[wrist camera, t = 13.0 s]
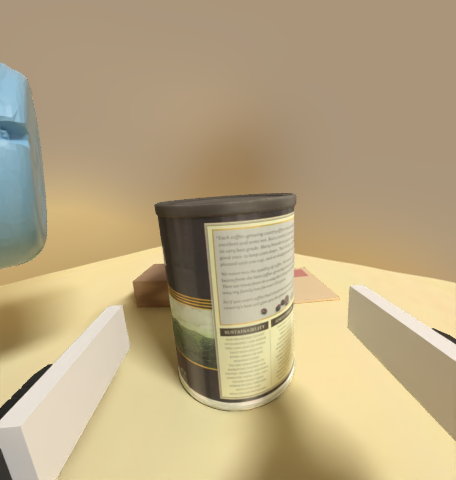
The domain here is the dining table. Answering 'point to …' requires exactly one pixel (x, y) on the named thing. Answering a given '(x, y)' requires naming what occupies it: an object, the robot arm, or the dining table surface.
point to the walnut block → (152, 288)
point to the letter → (310, 288)
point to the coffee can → (231, 295)
